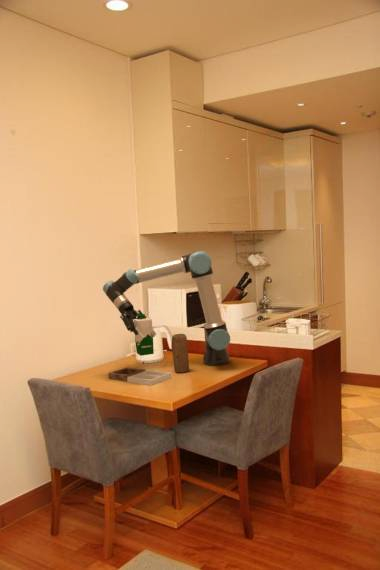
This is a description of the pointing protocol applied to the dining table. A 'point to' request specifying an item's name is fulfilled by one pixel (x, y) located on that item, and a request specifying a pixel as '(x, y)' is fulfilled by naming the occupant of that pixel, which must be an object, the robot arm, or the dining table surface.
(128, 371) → the dark brown square tray
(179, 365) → the block
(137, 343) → the soya milk
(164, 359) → the dining table surface
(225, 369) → the dining table surface
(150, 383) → the tray
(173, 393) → the dining table surface
